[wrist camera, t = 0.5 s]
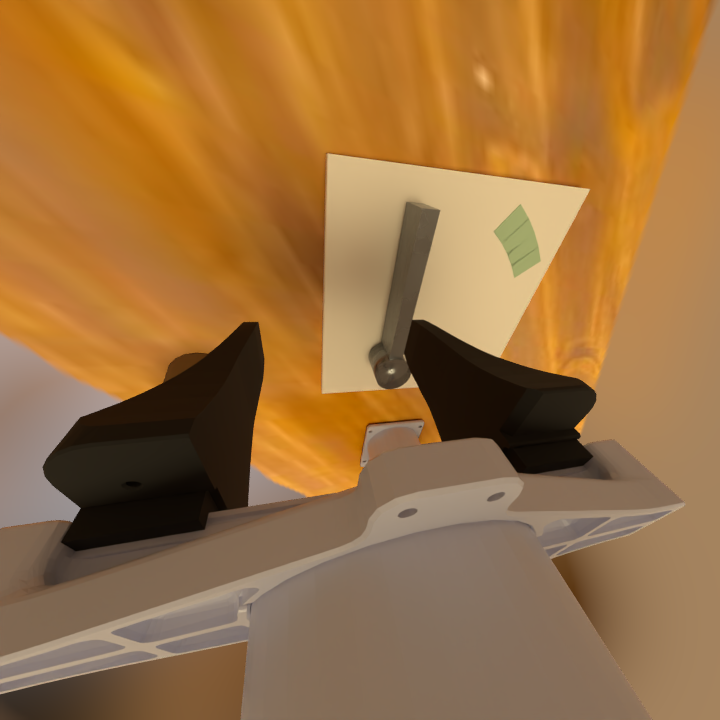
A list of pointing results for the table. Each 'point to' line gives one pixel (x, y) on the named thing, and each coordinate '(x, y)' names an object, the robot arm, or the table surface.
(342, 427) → the table surface
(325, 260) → the dial board
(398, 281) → the pointer
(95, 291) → the table surface
